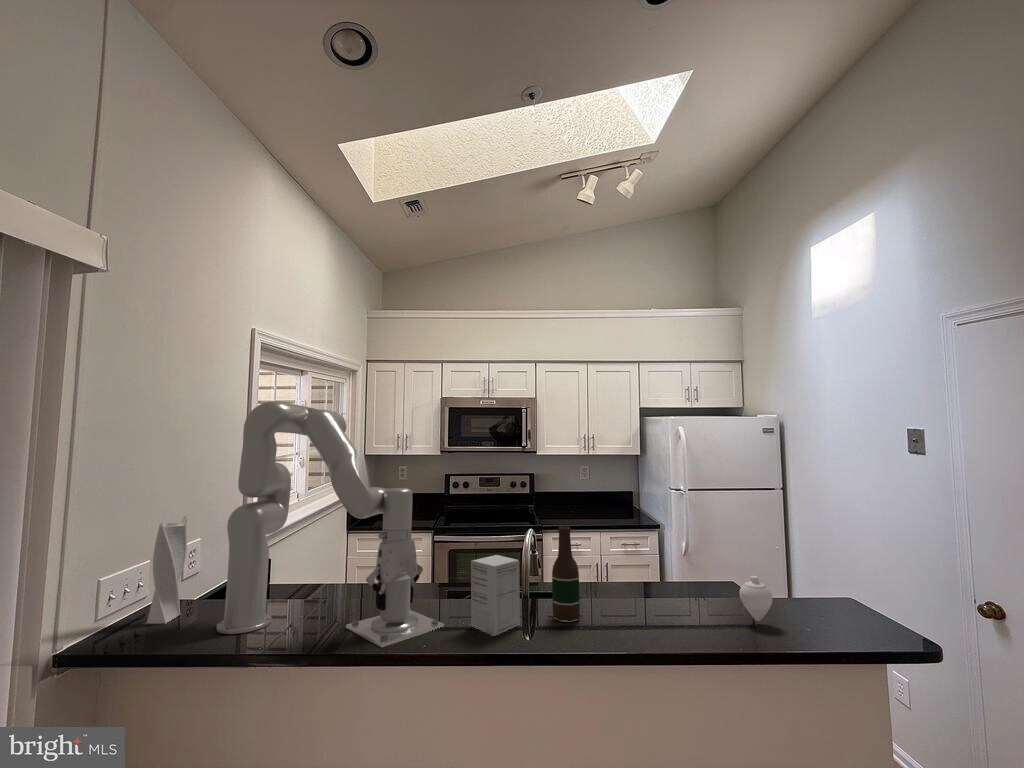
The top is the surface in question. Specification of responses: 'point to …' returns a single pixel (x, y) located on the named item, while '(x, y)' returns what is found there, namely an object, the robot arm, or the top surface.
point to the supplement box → (495, 594)
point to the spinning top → (756, 598)
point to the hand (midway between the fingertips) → (394, 605)
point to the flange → (393, 628)
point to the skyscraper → (168, 571)
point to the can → (397, 599)
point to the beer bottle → (565, 580)
